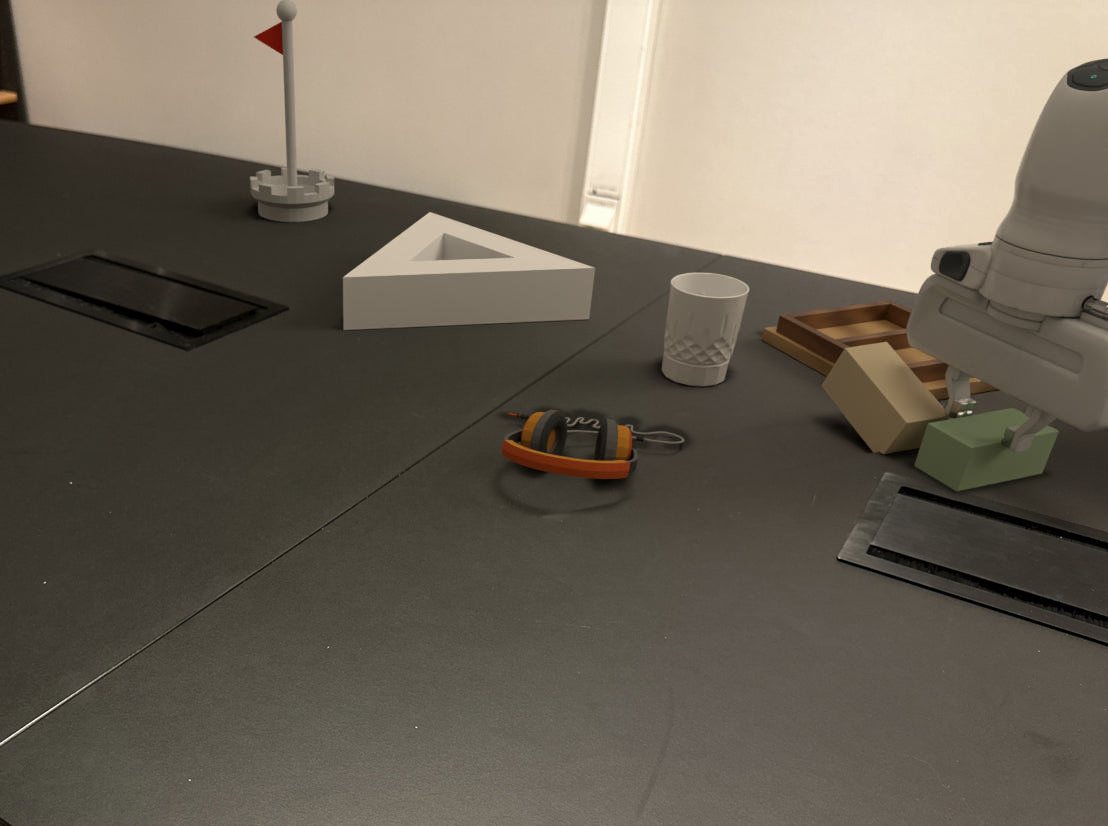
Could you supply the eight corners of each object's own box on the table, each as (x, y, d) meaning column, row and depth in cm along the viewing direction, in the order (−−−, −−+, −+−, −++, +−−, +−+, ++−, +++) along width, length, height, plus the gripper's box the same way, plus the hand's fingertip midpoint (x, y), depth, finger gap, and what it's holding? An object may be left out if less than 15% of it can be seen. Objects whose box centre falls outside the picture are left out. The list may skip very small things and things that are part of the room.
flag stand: (344, 204, 170) (342, -4, 154) (321, 226, 159) (317, 5, 143) (267, 198, 172) (258, -7, 156) (239, 220, 161) (226, 1, 145)
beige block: (820, 385, 103) (844, 347, 99) (861, 379, 104) (887, 341, 101) (879, 460, 98) (907, 423, 94) (921, 452, 99) (950, 415, 95)
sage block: (995, 455, 98) (1012, 407, 96) (1039, 480, 95) (1059, 430, 92) (911, 472, 95) (927, 423, 93) (954, 498, 92) (972, 447, 89)
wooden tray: (876, 323, 128) (884, 295, 126) (1011, 387, 112) (1022, 356, 110) (761, 339, 122) (767, 311, 121) (885, 409, 107) (895, 377, 105)
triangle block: (428, 257, 147) (429, 212, 143) (613, 281, 139) (619, 234, 136) (343, 330, 123) (342, 277, 120) (560, 364, 115) (566, 308, 112)
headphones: (692, 408, 100) (668, 453, 82) (682, 461, 102) (656, 517, 84) (522, 380, 105) (464, 417, 87) (515, 432, 107) (457, 478, 89)
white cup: (644, 377, 113) (658, 287, 107) (672, 354, 118) (687, 267, 113) (715, 395, 109) (734, 303, 104) (741, 371, 114) (759, 282, 109)
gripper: (1192, 319, 78) (1115, 482, 85) (974, 240, 94) (925, 383, 101) (1131, 327, 76) (1058, 493, 83) (919, 245, 92) (874, 390, 99)
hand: (984, 432), depth 92 cm, fingers closed on sage block, 5 cm apart
